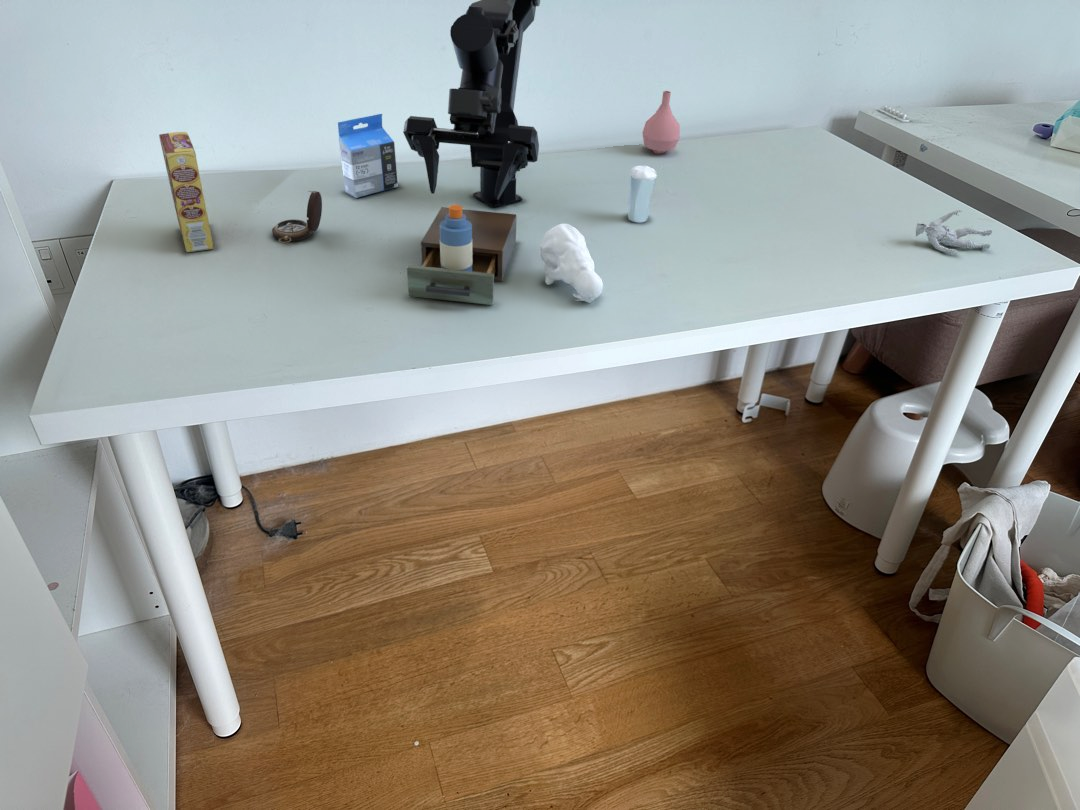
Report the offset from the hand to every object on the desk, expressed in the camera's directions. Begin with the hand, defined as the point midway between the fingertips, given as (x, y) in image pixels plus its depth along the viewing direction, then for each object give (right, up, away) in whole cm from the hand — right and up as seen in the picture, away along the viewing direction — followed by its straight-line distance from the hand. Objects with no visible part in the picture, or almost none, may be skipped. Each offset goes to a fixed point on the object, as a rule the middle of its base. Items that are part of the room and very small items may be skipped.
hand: (464, 195), depth 112 cm
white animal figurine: (+16, -13, +4) cm, 21 cm away
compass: (-28, -3, +14) cm, 31 cm away
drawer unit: (0, -7, +11) cm, 13 cm away
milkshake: (+28, +2, +25) cm, 38 cm away
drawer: (-1, -12, +4) cm, 12 cm away
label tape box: (-19, +9, +30) cm, 37 cm away
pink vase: (+35, +23, +53) cm, 68 cm away
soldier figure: (+80, -3, +22) cm, 83 cm away
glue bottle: (-1, -12, +2) cm, 12 cm away
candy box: (-42, -4, +11) cm, 44 cm away
